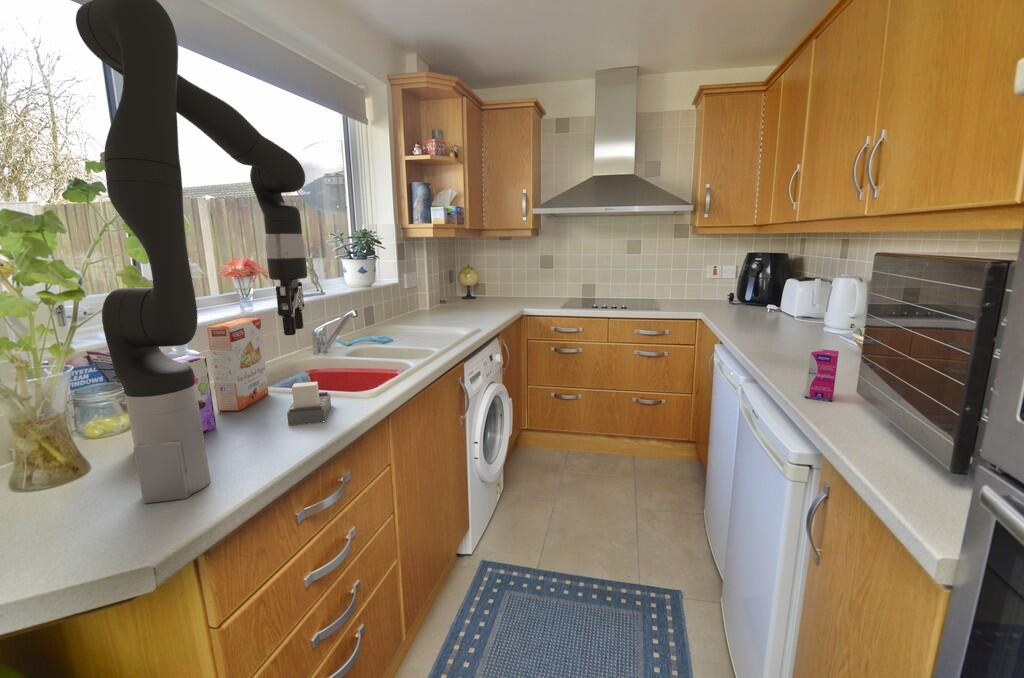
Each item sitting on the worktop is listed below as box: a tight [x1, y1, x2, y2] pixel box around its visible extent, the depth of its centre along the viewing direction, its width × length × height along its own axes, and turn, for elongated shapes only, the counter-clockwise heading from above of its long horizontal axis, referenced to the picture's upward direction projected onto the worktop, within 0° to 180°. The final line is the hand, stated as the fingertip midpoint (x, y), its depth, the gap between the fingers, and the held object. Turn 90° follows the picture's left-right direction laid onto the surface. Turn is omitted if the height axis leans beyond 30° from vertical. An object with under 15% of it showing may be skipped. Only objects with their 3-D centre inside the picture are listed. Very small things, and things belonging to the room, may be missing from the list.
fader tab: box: [291, 381, 320, 408], centre depth 110 cm, size 3×5×5 cm, turn 103°
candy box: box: [172, 355, 217, 434], centre depth 100 cm, size 14×6×16 cm, turn 161°
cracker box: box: [206, 317, 269, 412], centre depth 122 cm, size 14×6×21 cm, turn 179°
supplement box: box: [804, 347, 840, 403], centre depth 118 cm, size 6×6×12 cm
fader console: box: [286, 391, 332, 427], centre depth 114 cm, size 12×8×4 cm, turn 13°
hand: (294, 331), depth 106 cm, fingers open, 8 cm apart
